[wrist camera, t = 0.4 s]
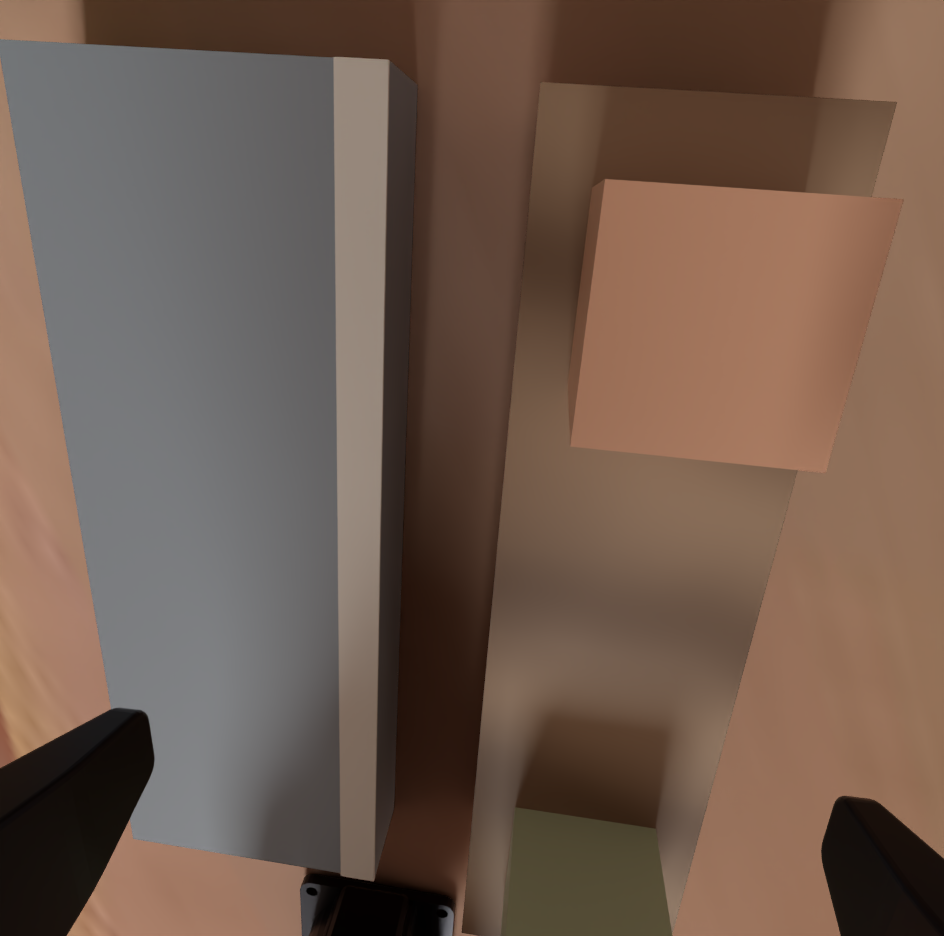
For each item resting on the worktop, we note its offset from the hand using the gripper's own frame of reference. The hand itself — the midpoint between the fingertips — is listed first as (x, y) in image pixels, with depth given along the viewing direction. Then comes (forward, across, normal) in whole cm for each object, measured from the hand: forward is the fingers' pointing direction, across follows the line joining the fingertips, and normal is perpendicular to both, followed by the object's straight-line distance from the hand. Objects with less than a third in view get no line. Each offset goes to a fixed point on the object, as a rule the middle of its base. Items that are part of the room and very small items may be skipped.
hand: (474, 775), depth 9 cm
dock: (+12, +8, +2) cm, 15 cm away
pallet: (+13, -3, +3) cm, 13 cm away
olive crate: (+8, -3, +11) cm, 14 cm away
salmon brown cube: (+8, -3, -6) cm, 10 cm away
